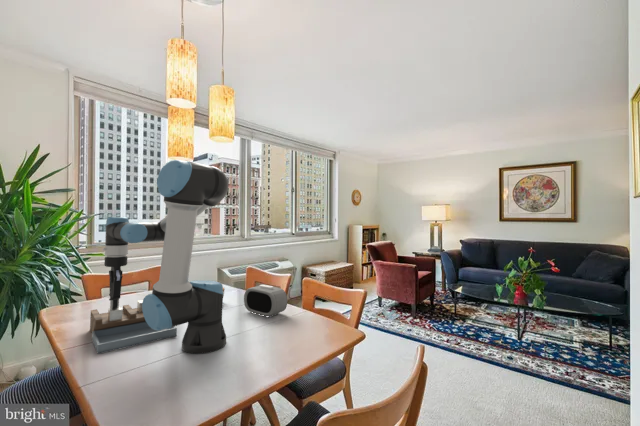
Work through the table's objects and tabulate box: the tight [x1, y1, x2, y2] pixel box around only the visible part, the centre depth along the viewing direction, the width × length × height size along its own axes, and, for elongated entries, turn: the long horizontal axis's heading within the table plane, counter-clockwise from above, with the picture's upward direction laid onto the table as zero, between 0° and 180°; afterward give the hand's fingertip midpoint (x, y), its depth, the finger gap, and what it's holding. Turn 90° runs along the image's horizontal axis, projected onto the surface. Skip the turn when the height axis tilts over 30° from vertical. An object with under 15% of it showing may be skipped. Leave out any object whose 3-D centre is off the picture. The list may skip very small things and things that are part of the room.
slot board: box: [89, 304, 146, 335], centre depth 124 cm, size 15×24×8 cm, turn 133°
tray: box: [91, 321, 178, 354], centre depth 115 cm, size 16×25×3 cm, turn 133°
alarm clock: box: [243, 284, 288, 317], centre depth 149 cm, size 21×10×13 cm, turn 56°
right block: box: [136, 299, 143, 313], centre depth 129 cm, size 4×4×4 cm
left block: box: [107, 306, 123, 322], centre depth 117 cm, size 4×4×4 cm
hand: (114, 315), depth 119 cm, fingers closed
